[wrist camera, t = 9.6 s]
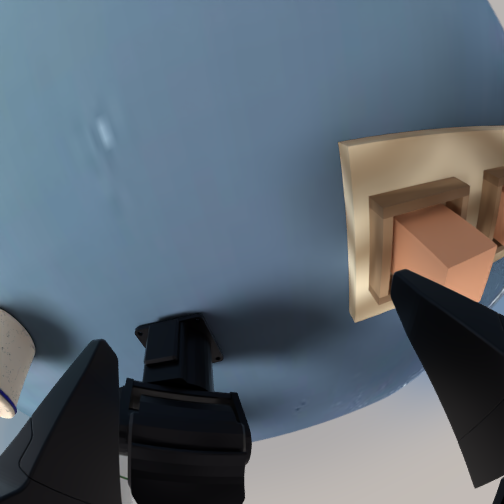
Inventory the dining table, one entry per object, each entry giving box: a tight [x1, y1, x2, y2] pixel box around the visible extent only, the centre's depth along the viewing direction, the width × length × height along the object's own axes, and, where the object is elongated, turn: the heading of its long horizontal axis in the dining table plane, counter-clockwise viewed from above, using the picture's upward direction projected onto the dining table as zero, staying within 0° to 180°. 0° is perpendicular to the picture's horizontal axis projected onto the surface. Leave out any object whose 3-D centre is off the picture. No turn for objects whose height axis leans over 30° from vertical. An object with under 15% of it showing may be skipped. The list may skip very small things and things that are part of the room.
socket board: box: [338, 126, 504, 323], centre depth 18 cm, size 16×24×8 cm, turn 103°
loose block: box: [390, 203, 497, 302], centre depth 17 cm, size 5×5×7 cm
